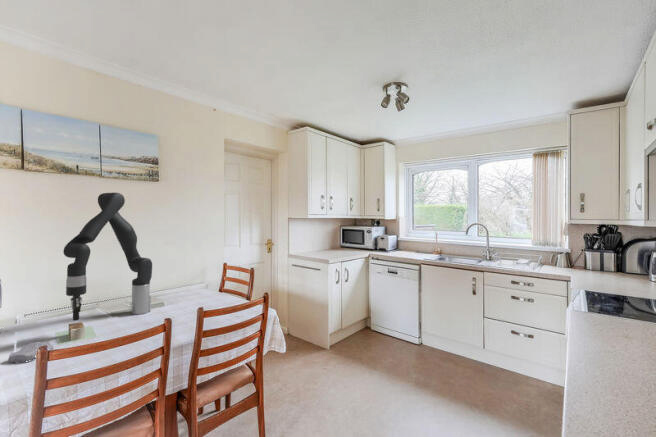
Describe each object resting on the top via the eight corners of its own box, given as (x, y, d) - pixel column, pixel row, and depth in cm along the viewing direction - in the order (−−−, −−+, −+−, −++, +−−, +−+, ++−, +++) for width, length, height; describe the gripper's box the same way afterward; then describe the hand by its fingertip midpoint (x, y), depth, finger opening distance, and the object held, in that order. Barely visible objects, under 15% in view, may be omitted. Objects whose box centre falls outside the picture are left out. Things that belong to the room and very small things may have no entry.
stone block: (55, 353, 132) (31, 349, 131) (57, 343, 132) (33, 339, 131) (31, 368, 120) (4, 364, 119) (34, 357, 120) (7, 352, 119)
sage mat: (91, 327, 157) (91, 325, 157) (97, 338, 145) (97, 336, 144) (55, 334, 147) (55, 332, 147) (58, 346, 134) (58, 345, 134)
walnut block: (82, 321, 149) (84, 327, 142) (81, 331, 149) (84, 338, 142) (68, 324, 146) (71, 330, 139) (68, 334, 146) (70, 341, 139)
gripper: (88, 286, 143) (87, 321, 144) (84, 280, 153) (83, 314, 153) (67, 288, 138) (67, 325, 138) (64, 283, 147) (64, 318, 148)
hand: (75, 319), depth 146 cm, fingers closed
